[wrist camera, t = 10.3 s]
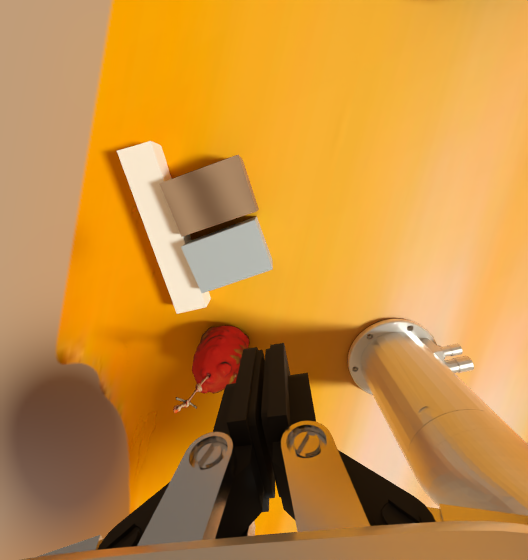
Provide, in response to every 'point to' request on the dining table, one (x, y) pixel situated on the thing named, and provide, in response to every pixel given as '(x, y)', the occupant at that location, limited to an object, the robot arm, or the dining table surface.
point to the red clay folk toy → (216, 360)
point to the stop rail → (161, 223)
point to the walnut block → (210, 195)
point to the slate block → (228, 255)
